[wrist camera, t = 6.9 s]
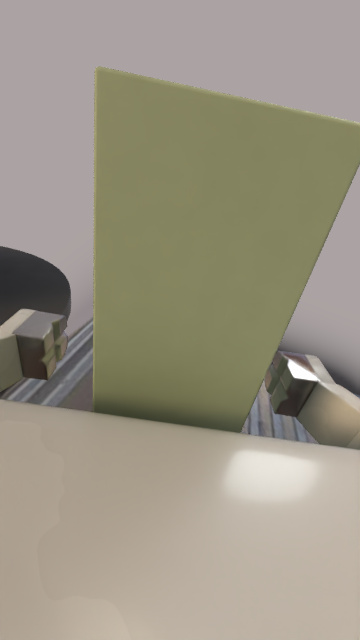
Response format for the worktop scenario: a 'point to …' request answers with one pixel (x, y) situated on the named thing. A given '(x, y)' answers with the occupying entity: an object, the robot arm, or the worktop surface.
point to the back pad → (203, 242)
